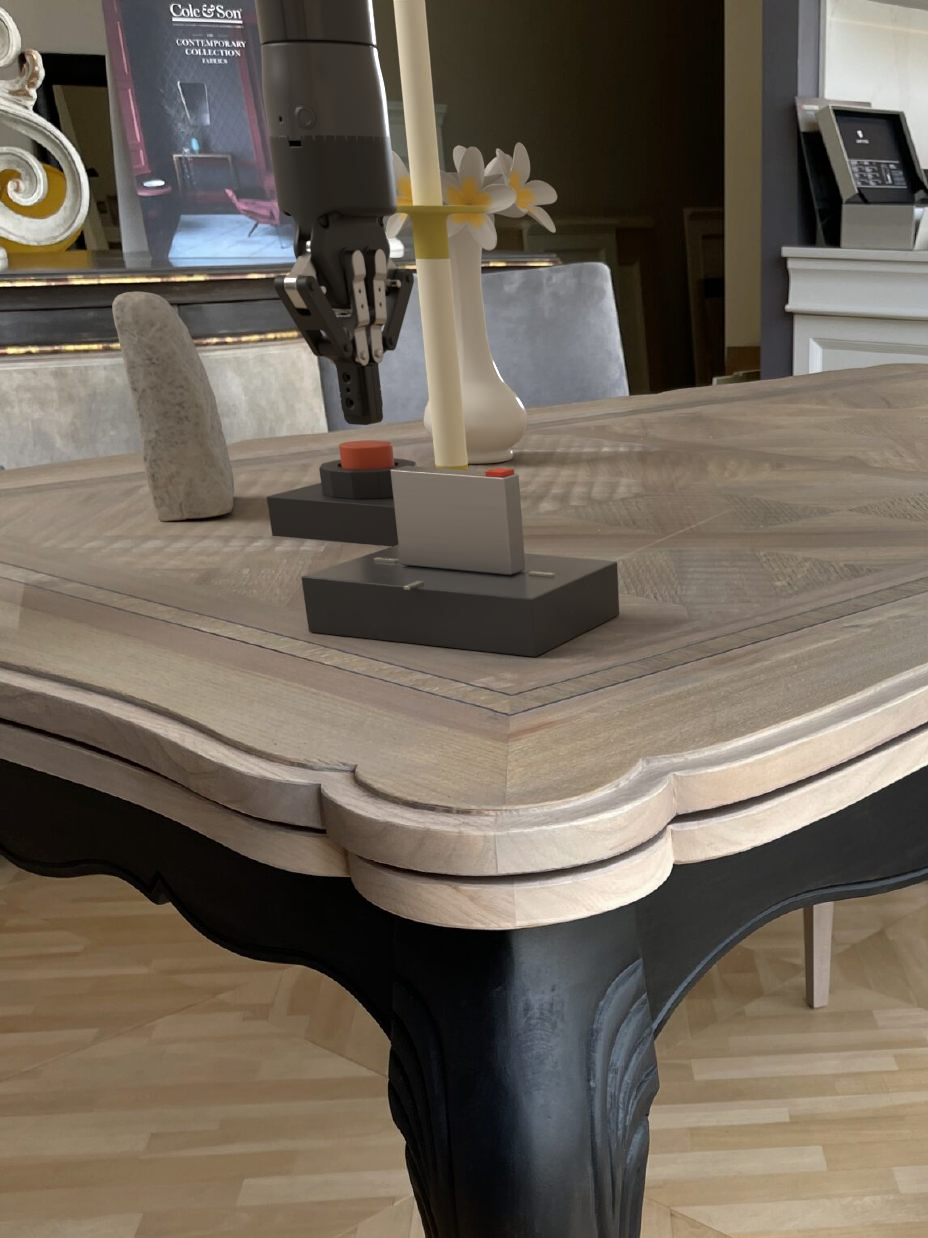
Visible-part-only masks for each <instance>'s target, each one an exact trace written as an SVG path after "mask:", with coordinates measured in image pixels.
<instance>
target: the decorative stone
mask: <svg viewBox="0 0 928 1238" xmlns="http://www.w3.org/2000/svg"><path fill="white" fill-rule="evenodd" d="M111 305H112V315H113V323H114V326H115V329H116V333H117V337H118V343H119V347H120V351H121V356H122V360H123V365H124V369H125V374H126V378H127V382H128V385H129V388H130V392H131V397H132V404H133V407H134V411H135V412H134V413H135V416H136V421H137V427H138V435H139V439H140V446H141V447H140V448H141V454H142V463H143V467H144V472H145V473H144V474H145V477H146V478H145V479H146V482H147V486H148V491H149V495H150V498H151V503H152V507H153V509H154V514H155V517H156V519H157V520H159V521H160V522H163V523H164V522H174V521H175V522H176V521H184V520H192V519H194V520H196V519H197V520H199V519H206V518H213V517H218V516H222V515H226V514H230V513H231V512H232V509H233V507H234V494H235V482H234V480H235V479H234V473H233V466H232V463H231V460H230V459H231V458H230V455H229V449H228V445H227V442H226V436H225V434H224V430H223V426H222V425H223V424H222V420H221V416H220V413H219V410H218V405H217V399H216V395H215V392H214V389H213V387H212V385H211V383H210V380H209V377H208V374H207V371H206V368H205V365H204V363H203V361H202V359H201V356H200V354H199V351H198V349H197V347H196V345H195V342H194V341H193V340H194V339H193V338H192V336H191V334H190V331H189V328H188V327H187V326H186V324H185V322H184V321H183V320H182V319H181V317H180V316H179V314H178V313H177V312H176V310H175V309H174V308H173V307H172V306H171V304H170V303H169V301H167V299H166V298H164V297H163V296H161V295H159V294H157V293H153V292H148V291H147V292H146V291H126V292H123V293H121V294H118V295H117V296H116V297H115V298H114V300H113V302H112V304H111Z"/></svg>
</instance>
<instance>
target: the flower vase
mask: <svg viewBox="0 0 928 1238" xmlns="http://www.w3.org/2000/svg"><path fill="white" fill-rule="evenodd" d="M452 151H453V152H452V158H453V163H454V167H455V169H456V171H455V172H451V171H450V172H447V171H444V170H443V169H440V180H441V192H442V203H444V204H445V205H463V206H487V212H485V213H452V214H450V215H448V218H447V230H448V242H449V253H450V265H451V277H452V288H453V300H454V311H455V323H456V334H457V346H458V357H459V369H460V380H461V392H462V404H463V415H464V427H465V438H466V450H467V461H468V465H481V464H483V465H484V464H485V465H486V464H495V463H496V464H497V463H504V462H508V461H510V460H512V459H513V457H514V451H513V449H512V447H514V446H515V445H516V444H517V443H519V442H520V441H521V440H522V438H523V437H524V435H525V433H526V432H527V429H528V427H529V415H528V412H527V409H526V407H525V404H524V403H523V401H522V400H521V398H520V397H519V395H517V393H516V392H515V391H514V390H513V389H512V388H511V387H510V385H508V384H507V383H506V382H505V380H504V379H503V377H502V376H501V373H500V371H499V369H498V367H497V364H496V362H495V359H494V357H493V354H492V351H491V347H490V342H489V336H488V330H487V322H486V312H485V305H484V295H483V285H482V258H483V257H482V256H483V255H482V254H483V249H484V250H486V251H492V250H494V249H495V248H496V247H497V243H498V234H497V231H496V227H495V215H494V214H497V215H501V216H505V217H509V218H516V219H517V218H522V217H524V216H525V215H528V216H529V217H531V218H533V220H535V221H536V222H537V223H539V224H540V225H541V226H542V227H543V228H545V229H546V230H547V231H549V232H551V233H553V234H554V233H556V231H557V230H556V227H555V224H554V221H553V219H552V218H551V216H550V215H549V214H548V212H547V211H545V209H543V208H542V207H540V206H543V205H544V206H545V205H552V204H554V203H555V202H557V199H558V194H557V192H556V190H555V188H554V187H553V186H552V185H550V184H549V183H548V182H545V181H543V180H540V179H539V180H537V179H535V180H530V181H529V182H527V181H528V180H529V178H530V174H531V162H530V157H529V154H528V150H527V149H526V147H525V146H524V144H523V143H521V142H520V141H519V142H517V143H516V144H515V146H514V150H513V157H512V156H511V155H510V154H507V153H505V152H504V151H503V150H502V149H500V148H495V154H496V156H495V157H494V158H493V159H492V160H491V161H490V162H489V163H488V164H487V165H486V167H485V160H484V156H483V155H482V152H481V151H480V149H478V148H477V147H476V146H470V147H469V146H468V148H466V147H464V146H462V145H457V146H454V148H453V150H452ZM392 159H393V169H394V178H395V188H396V198H397V205H413V199H412V189H411V178H410V171H409V170H408V168H407V167H406V165H405V162H403V160H402V159H401V158H400V156H399V155H398V154H397V153H396V152H395V151H393V150H392ZM386 223H387V224H386V227H385V232H386V235H387V238H388V240H393V239H395V238H396V237H397V236H398V234H400V232H401V231H402V230H404V229H406V228H408V227H411V226H412V220H411V218H410V216H409V215H408V214H406V213H395V214H394V215H392V216H389V218H388V220H387V222H386ZM422 422H423V426H424V429H425V431H426V432H427V435H428V436H429V437H430V438H431V439H432V440H433V434H432V424H431V414H430V403H429V398H428V399H427V401H426V403H425V406H424V410H423V415H422Z"/></svg>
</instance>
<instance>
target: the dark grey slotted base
mask: <svg viewBox="0 0 928 1238" xmlns="http://www.w3.org/2000/svg"><path fill="white" fill-rule="evenodd" d="M524 557H525V570H523V571H520V572H518V573H515V574H513V575H502V574H492V573H482V572H471V571H461V570H450V569H440V568H430V567H419V566H409V565H401V562H400V553H399V545H396V546H388V547H386V548H383V549H380V550H377V551H375V552H374V551H373V552H372V553H371V552H370V553H368V554H366V555H363V556H358V557H357V558H353V559H350V560H347V561H343V562H341V563H338V564H334V565H332V566H329V567H326V568H322V569H319V570H316V571H314V572H310V573H307V574H304V575H302V576H300V577H301V579H300V580H301V585H302V592H303V600H304V606H305V613H306V622H307V628H308V631H309V632H310V633H315V634H324V635H334V636H343V637H352V638H362V639H370V640H378V641H388V642H396V643H405V644H415V645H424V646H433V647H440V648H441V647H442V648H449V649H460V650H470V651H478V652H486V653H496V654H503V655H504V654H505V655H513V656H523V657H532V658H537V657H538V656H540V655H542V654H544V653H546V652H548V651H551V650H552V649H554V648H556V647H558V646H560V645H562V644H564V643H566V642H568V641H570V640H572V639H574V638H576V637H578V636H580V635H582V634H584V633H586V632H588V631H589V630H592V629H594V628H595V627H597V626H600V625H602V624H603V623H605V622H608V621H609V620H611V619H614V618H616V617H617V616H619V615H620V596H619V573H618V569H619V568H618V561H615V560H606V559H595V558H583V557H573V556H572V557H571V556H562V555H561V556H559V555H549V554H538V553H526V552H524Z"/></svg>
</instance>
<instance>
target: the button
mask: <svg viewBox="0 0 928 1238" xmlns="http://www.w3.org/2000/svg"><path fill="white" fill-rule="evenodd" d="M338 448H339V458H340V460H341V465H342V468H346V469H379V468H389V467H393V466H395V465H394V458H395V456H394V449H393V448H394V447H393V443H392V442H391V441H386V440H374V439H372V440H352V441H345V442H341V443H340V444H339V445H338Z"/></svg>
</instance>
